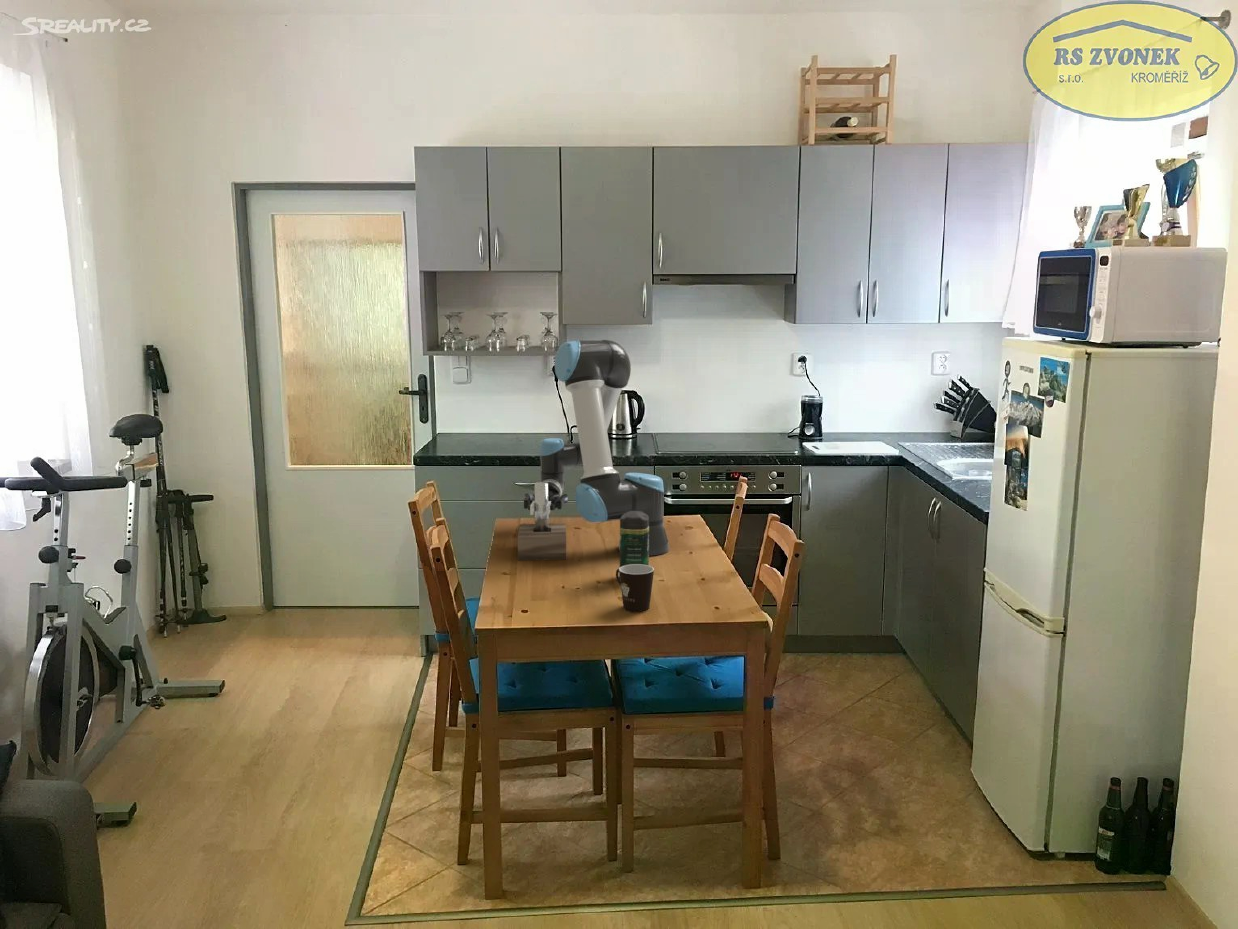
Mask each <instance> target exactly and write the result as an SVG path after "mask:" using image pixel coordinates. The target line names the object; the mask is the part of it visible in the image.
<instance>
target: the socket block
mask: <svg viewBox="0 0 1238 929" xmlns="http://www.w3.org/2000/svg"><path fill="white" fill-rule="evenodd" d="M566 524H567V523H566V522H561V523H560V522H557V523H556V522H555V523H554V522H553V523H550V522H549V532H535V523H519V527H518V532H517V560H518V559H519V560H518V561H541V560H540V559H566V560H567V527H566ZM536 559H538V560H536Z"/></svg>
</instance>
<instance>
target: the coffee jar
mask: <svg viewBox="0 0 1238 929" xmlns="http://www.w3.org/2000/svg"><path fill="white" fill-rule="evenodd" d="M619 541H620V551H619V568H620V567H622V566H625V565H631V564H641V565H648V566H650V564H649V561H650V556H649V517H648V515H647V514H645V513H644V512H643V511H628V512H627V513H625V514H623V515H622V516H621V519H620V520H619Z"/></svg>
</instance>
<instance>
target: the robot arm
mask: <svg viewBox="0 0 1238 929" xmlns="http://www.w3.org/2000/svg"><path fill="white" fill-rule="evenodd" d="M556 351H557V352H556V355H555V358H554V372H555V377H556V378H557V379H558V381H559V382H562V383H564V384H565V385H564V386H565V390H567V391H568V392H569V393H571V397H572V404H573V409H574V416H575V421H576V429H577V436H578V442H572V443H565V442H564V440H563V439H562V438H559V437H558V438H557V437H556V438H555V437H549V438H544V439H542V440H541V442H540V450H539V451H540V452H539V457H540V482H547V483H548V503H547V505H546V515H549V516H550V513H551V511H555V510H556V508H557V510H562V509H563V507H564V506H565V504H567V503H568V502H569V500H568V498H569V497H568V494H567V493H564V491H565V490H566V489H565V488H566V480H565V476H564V474H565V468H569V467H579V466H582V467H583V474H582V476H580V478H579V482H580V483H579V484H578V485H577V487H576V488H575V490H574V492H575V494H574V502H575V505H576V508H577V510H578V513H579V514H580V516H581V517H582V518H583V520H585V521H586V522H588V523H605V522H610V521H612V522H613V521H620V519H621V516H622V515H623V514H625V513H627V512H628V511H643V512H644V513H645V514H647V515H648V517H649V557H651V556H658V555H663V554H666V553H667V552H669V551H670V542H669V540H668V535H667V533H666V529H665V526H664V493H665V489H664V482H663V481H664V480H663V479H662V477H660V476H657V475H656V474H655V475H654V474H649V473H642V472H627V473H625V474H624V477H623V478H624V479H621V478H620V472H619V471H618V470H616V469H615V468H614V467H613V458H612V453H611V447H610V441H609V440H610V439H609V435H608V429H609V427H610V424H611V420H612V418H613V415H614V412H615V410H616V406H617V404H618V401H619V399H620V396H621V393H622V391H623V389H624V388H626V387H627V385H628V384H629V381H630V377H631V369H632V368H631V365H632V364H631V360H630V357H629V355H628V353H627V351H626V349H625V348H624V347H623V346H622V345H621V344H619V343H618V342H616V341H613V340H610V339H601V340H596V339H595V340H590V339H589V340H576V339H575V340H571V341H565V342H563V343H562V344H561V345H560V346H559V348H558V349H557V350H556ZM563 493H564V494H563ZM523 509H525V510H528V511H529V515H530V516H533V515H535V493H533V495H532V494H529V493H524V499H523ZM618 550H619V552H620V540H619V542H618Z"/></svg>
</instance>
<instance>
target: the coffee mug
mask: <svg viewBox="0 0 1238 929" xmlns="http://www.w3.org/2000/svg"><path fill="white" fill-rule="evenodd" d="M654 571H655V568H654V567H653V566H651V565H649V566H648V565H641V564H631V565H625V566H622V567H620V566H619V568H617V569H616V571H615V578H616V580H617V583H618V584H619V586H620V590H621V599H622V605H623V606H622V607H623V608H622V609H623V610H624V611H626V612H628V611H629V612H630V613H635V612H638V613H644V612H643V611H645V612H647V611H646V610H648V609H649V610H650V607H651V597H652V588H653V582H654V574H655V572H654ZM649 610H648V611H649ZM629 612H628V613H629Z"/></svg>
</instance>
